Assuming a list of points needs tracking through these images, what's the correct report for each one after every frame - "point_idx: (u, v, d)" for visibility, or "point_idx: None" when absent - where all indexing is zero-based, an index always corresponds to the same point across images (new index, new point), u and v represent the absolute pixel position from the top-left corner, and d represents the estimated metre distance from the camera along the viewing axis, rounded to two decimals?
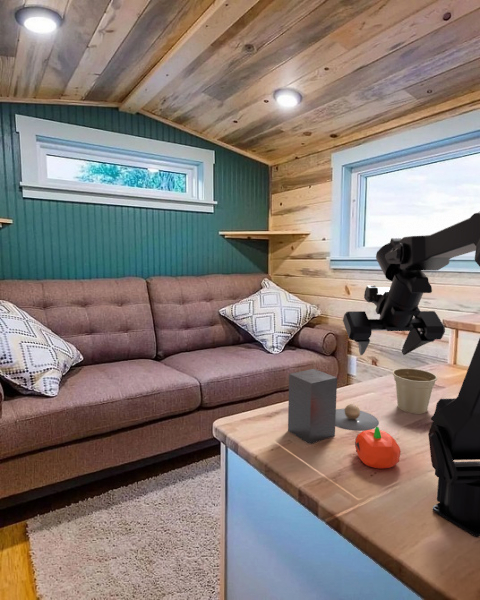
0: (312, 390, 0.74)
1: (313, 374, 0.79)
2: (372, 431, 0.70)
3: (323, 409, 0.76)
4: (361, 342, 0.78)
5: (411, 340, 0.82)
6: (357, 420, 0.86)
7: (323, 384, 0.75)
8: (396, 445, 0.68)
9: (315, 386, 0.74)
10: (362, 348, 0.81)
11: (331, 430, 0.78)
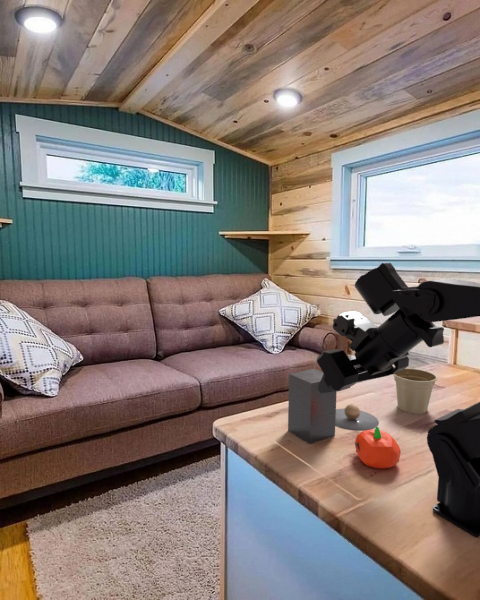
0: (312, 390, 0.74)
1: (313, 374, 0.79)
2: (372, 431, 0.70)
3: (323, 409, 0.76)
4: None
5: None
6: (357, 420, 0.86)
7: None
8: (396, 445, 0.68)
9: (315, 386, 0.74)
10: None
11: (331, 430, 0.78)
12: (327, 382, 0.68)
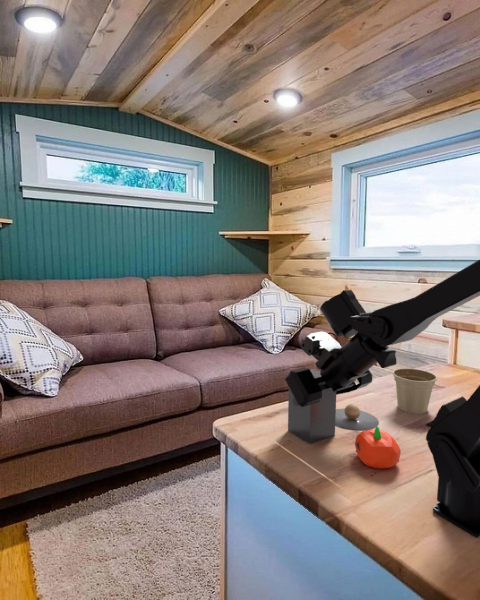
0: None
1: (313, 374, 0.79)
2: (372, 431, 0.70)
3: (323, 409, 0.76)
4: (311, 404, 0.71)
5: None
6: (357, 420, 0.86)
7: (323, 384, 0.75)
8: (396, 445, 0.68)
9: None
10: None
11: (331, 430, 0.78)
12: None
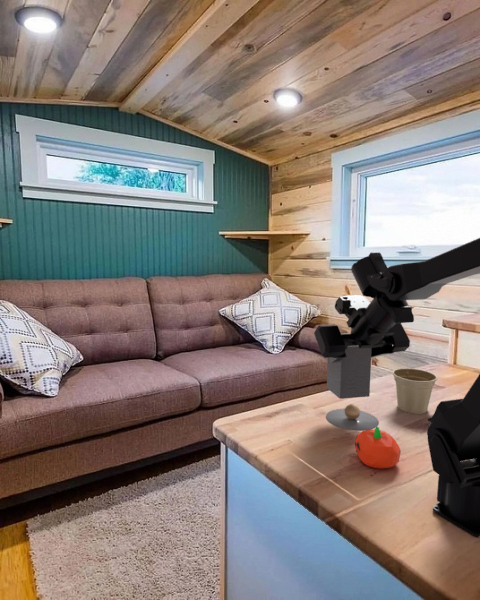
0: None
1: None
2: (372, 431, 0.70)
3: (355, 367, 0.81)
4: (338, 357, 0.77)
5: None
6: (357, 420, 0.86)
7: None
8: (396, 445, 0.68)
9: None
10: (336, 360, 0.80)
11: (365, 389, 0.82)
12: None
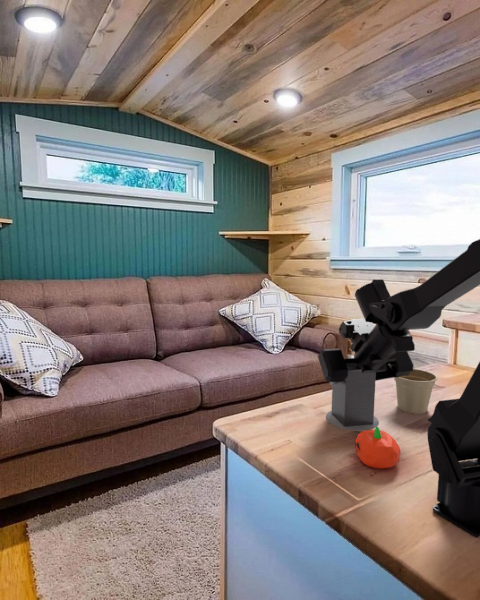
0: None
1: None
2: (372, 431, 0.70)
3: (360, 396, 0.82)
4: (336, 382, 0.78)
5: (379, 372, 0.84)
6: None
7: (360, 372, 0.82)
8: (396, 445, 0.68)
9: (350, 373, 0.81)
10: (334, 383, 0.81)
11: (369, 417, 0.83)
12: None
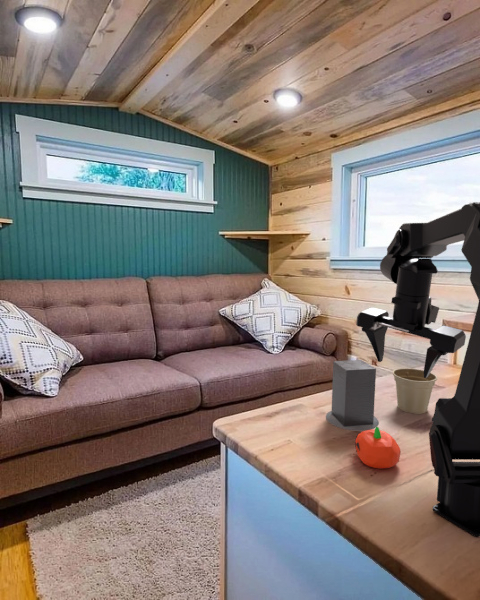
0: (347, 376, 0.81)
1: (355, 364, 0.85)
2: (372, 431, 0.70)
3: (360, 396, 0.82)
4: (366, 332, 0.79)
5: None
6: None
7: (360, 372, 0.82)
8: (396, 445, 0.68)
9: (350, 373, 0.81)
10: (373, 346, 0.80)
11: (369, 417, 0.83)
12: None
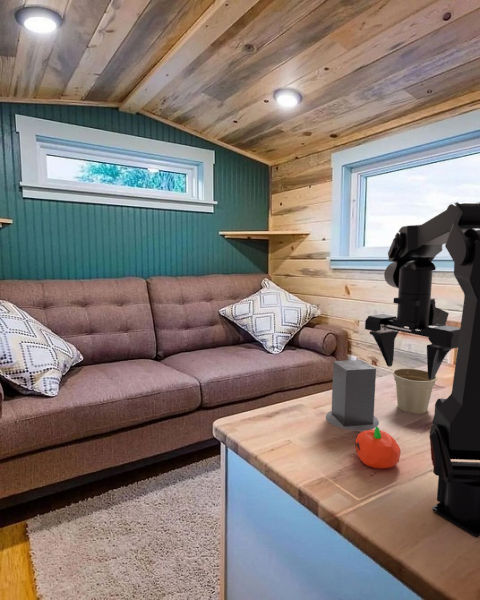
0: (347, 376, 0.81)
1: (355, 364, 0.85)
2: (372, 431, 0.70)
3: (360, 396, 0.82)
4: (373, 335, 0.82)
5: None
6: None
7: (360, 372, 0.82)
8: (396, 445, 0.68)
9: (350, 373, 0.81)
10: (380, 349, 0.82)
11: (369, 417, 0.83)
12: None
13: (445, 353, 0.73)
